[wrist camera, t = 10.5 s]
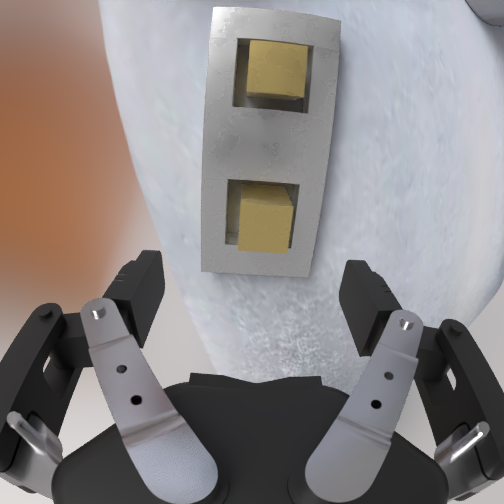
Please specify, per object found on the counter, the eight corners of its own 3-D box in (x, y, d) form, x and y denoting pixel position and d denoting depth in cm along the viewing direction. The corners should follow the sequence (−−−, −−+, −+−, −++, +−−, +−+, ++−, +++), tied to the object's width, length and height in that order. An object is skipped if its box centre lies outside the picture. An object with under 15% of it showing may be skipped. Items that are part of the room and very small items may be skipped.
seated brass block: (294, 60, 24) (307, 46, 18) (291, 100, 26) (303, 97, 20) (250, 56, 24) (250, 39, 18) (246, 96, 26) (246, 91, 20)
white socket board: (216, 16, 21) (213, 6, 19) (332, 28, 22) (341, 20, 19) (204, 258, 34) (201, 271, 32) (304, 264, 35) (308, 277, 32)
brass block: (284, 186, 30) (293, 206, 24) (279, 224, 32) (287, 253, 26) (242, 183, 30) (240, 203, 24) (239, 222, 32) (237, 250, 26)
